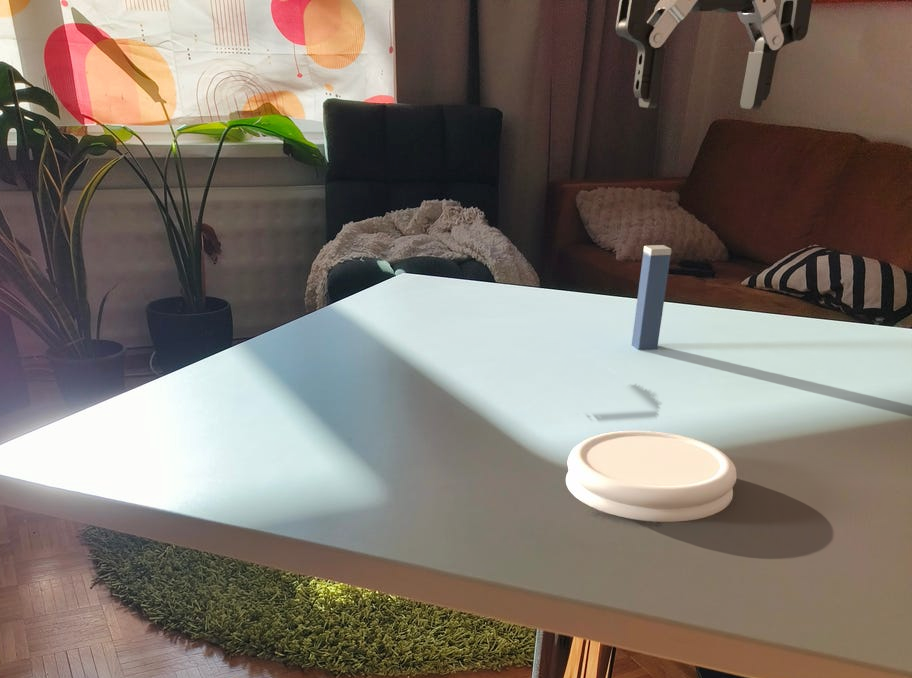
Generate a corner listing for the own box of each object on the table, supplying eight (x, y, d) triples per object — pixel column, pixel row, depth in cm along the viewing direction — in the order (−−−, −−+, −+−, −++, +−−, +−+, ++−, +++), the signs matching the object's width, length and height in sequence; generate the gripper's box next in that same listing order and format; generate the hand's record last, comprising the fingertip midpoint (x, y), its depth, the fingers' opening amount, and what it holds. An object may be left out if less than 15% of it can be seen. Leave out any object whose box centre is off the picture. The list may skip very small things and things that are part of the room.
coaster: (530, 502, 56) (534, 449, 54) (640, 466, 61) (647, 417, 59) (649, 564, 50) (658, 506, 48) (761, 519, 55) (773, 465, 53)
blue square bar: (647, 362, 82) (663, 244, 76) (654, 368, 80) (672, 248, 75) (628, 363, 81) (643, 245, 76) (635, 369, 80) (651, 249, 74)
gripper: (667, -190, 56) (631, 110, 65) (870, -177, 58) (808, 111, 67) (623, -167, 62) (595, 105, 71) (809, -156, 64) (759, 106, 73)
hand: (699, 108), depth 69 cm, fingers open, 8 cm apart
